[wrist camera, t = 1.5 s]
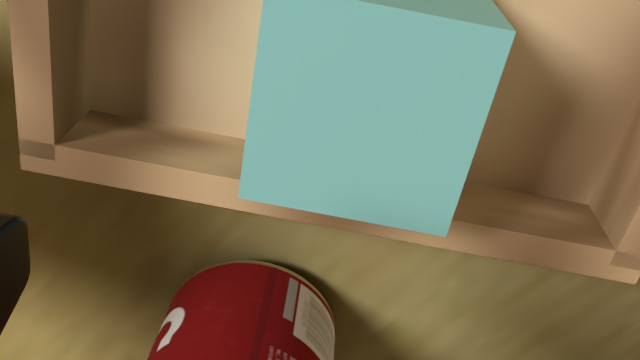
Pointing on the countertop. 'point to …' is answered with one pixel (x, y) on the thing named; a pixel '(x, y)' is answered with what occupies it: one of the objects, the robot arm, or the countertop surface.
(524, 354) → the countertop surface
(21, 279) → the robot arm
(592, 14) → the crate
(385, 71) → the cube
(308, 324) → the soda can
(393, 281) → the countertop surface
